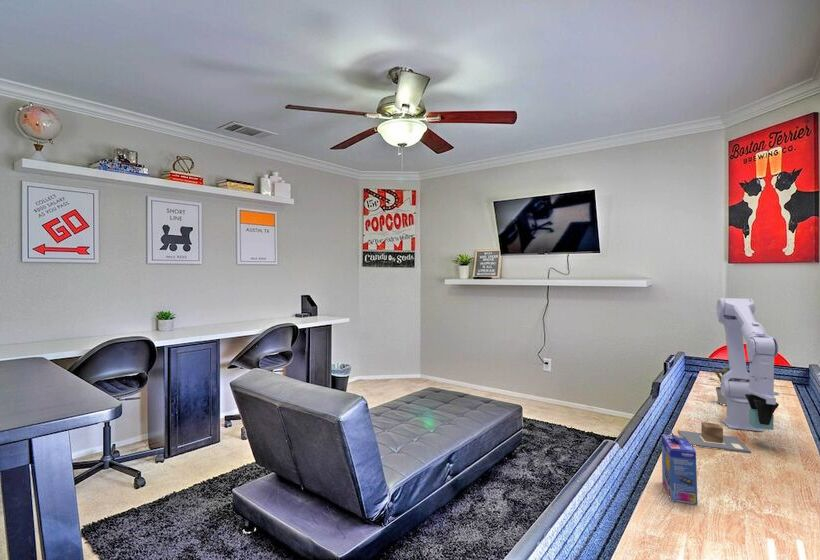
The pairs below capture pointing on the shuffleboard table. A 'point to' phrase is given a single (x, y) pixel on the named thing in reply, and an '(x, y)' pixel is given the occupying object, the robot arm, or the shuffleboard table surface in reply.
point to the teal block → (755, 420)
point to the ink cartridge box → (679, 468)
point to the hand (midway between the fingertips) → (761, 421)
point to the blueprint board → (728, 442)
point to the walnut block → (712, 432)
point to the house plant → (718, 389)
